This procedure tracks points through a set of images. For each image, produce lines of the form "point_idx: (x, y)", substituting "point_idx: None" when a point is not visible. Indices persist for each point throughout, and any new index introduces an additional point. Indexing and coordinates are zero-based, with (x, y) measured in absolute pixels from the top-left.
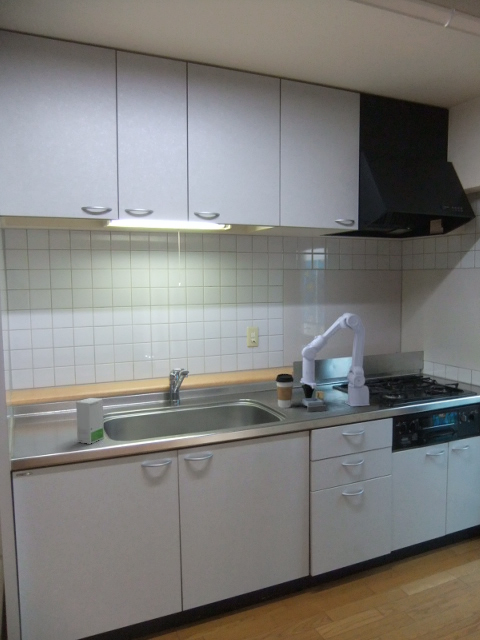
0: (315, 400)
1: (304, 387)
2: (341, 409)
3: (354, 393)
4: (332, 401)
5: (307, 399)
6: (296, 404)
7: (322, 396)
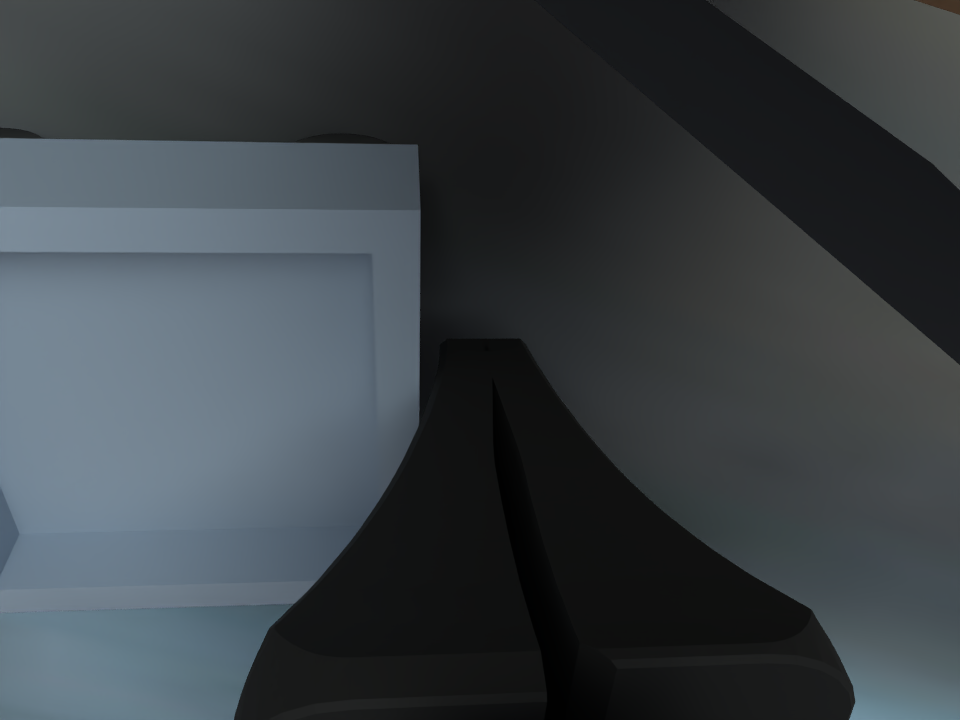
0: None
1: (337, 657)
2: (40, 690)
3: None
4: None
5: (380, 360)
6: None
7: None
